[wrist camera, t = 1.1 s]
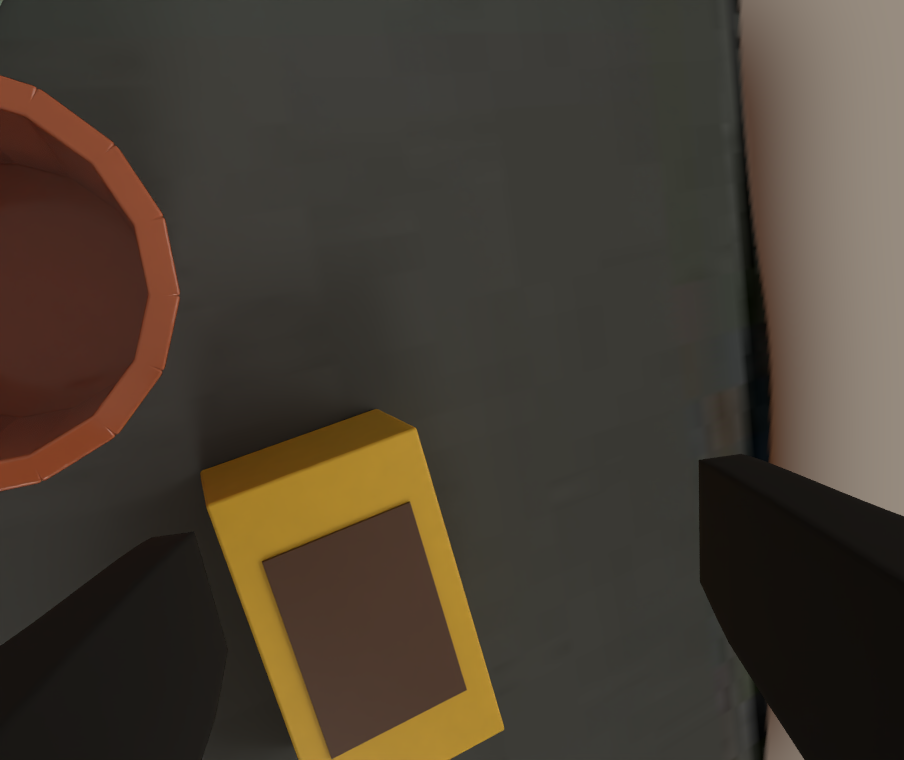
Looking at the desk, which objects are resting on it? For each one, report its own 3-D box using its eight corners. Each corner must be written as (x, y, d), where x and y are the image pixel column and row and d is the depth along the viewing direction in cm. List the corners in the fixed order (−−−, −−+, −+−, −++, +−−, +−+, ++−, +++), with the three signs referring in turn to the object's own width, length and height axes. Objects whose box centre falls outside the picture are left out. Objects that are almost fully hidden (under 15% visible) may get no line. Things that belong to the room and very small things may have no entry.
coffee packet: (456, 668, 22) (507, 732, 19) (298, 746, 20) (324, 832, 17) (377, 407, 20) (418, 427, 17) (198, 471, 19) (205, 506, 15)
